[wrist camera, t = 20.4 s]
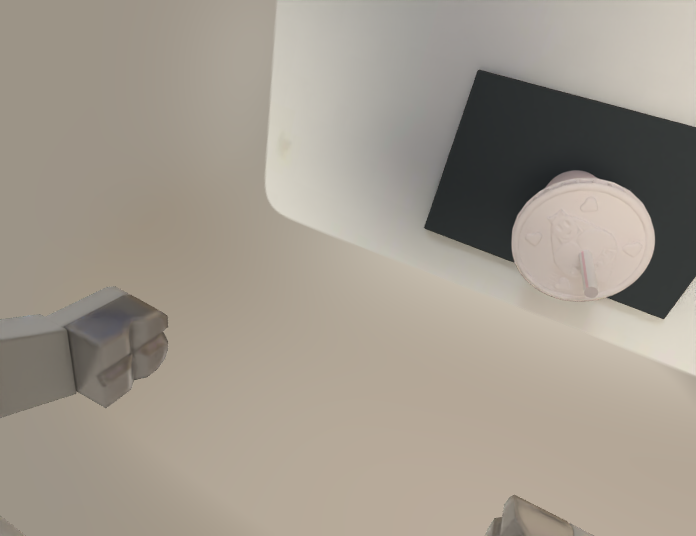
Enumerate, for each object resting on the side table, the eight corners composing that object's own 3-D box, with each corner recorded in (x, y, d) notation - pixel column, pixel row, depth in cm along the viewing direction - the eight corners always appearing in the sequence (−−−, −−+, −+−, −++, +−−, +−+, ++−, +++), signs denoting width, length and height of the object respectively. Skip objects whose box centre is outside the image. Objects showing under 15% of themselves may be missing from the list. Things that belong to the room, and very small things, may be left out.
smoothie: (556, 257, 31) (557, 369, 20) (503, 188, 31) (471, 261, 19) (649, 206, 28) (717, 306, 16) (589, 128, 27) (615, 172, 16)
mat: (425, 226, 35) (423, 228, 35) (479, 69, 29) (477, 69, 29) (662, 315, 30) (664, 319, 30) (783, 150, 24) (788, 152, 24)
